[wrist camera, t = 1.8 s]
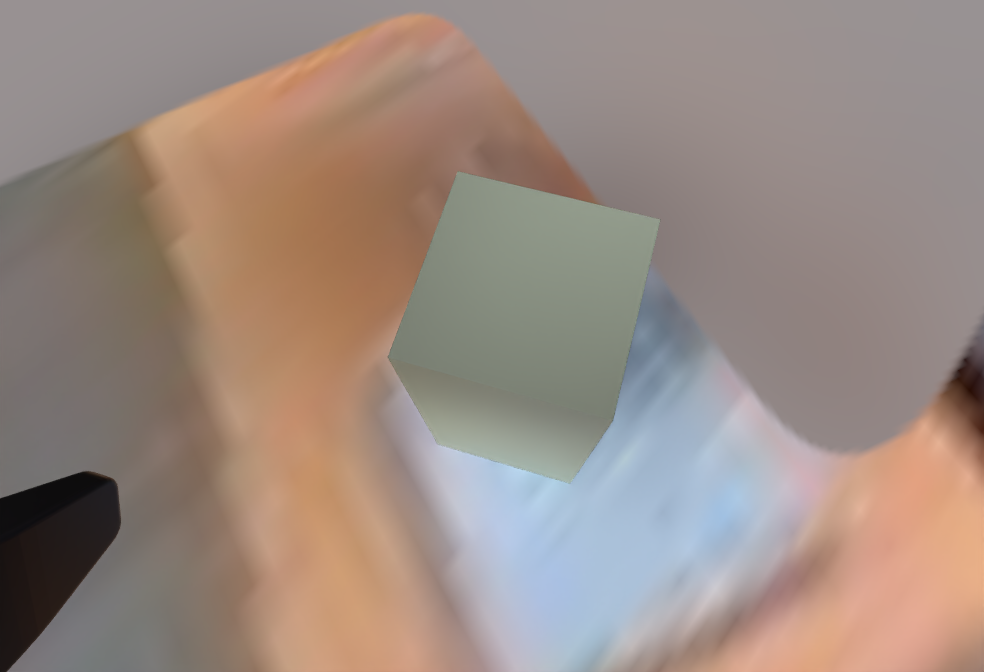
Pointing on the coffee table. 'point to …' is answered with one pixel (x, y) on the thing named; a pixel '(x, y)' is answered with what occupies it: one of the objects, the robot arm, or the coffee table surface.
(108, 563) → the coffee table surface
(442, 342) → the sage block
